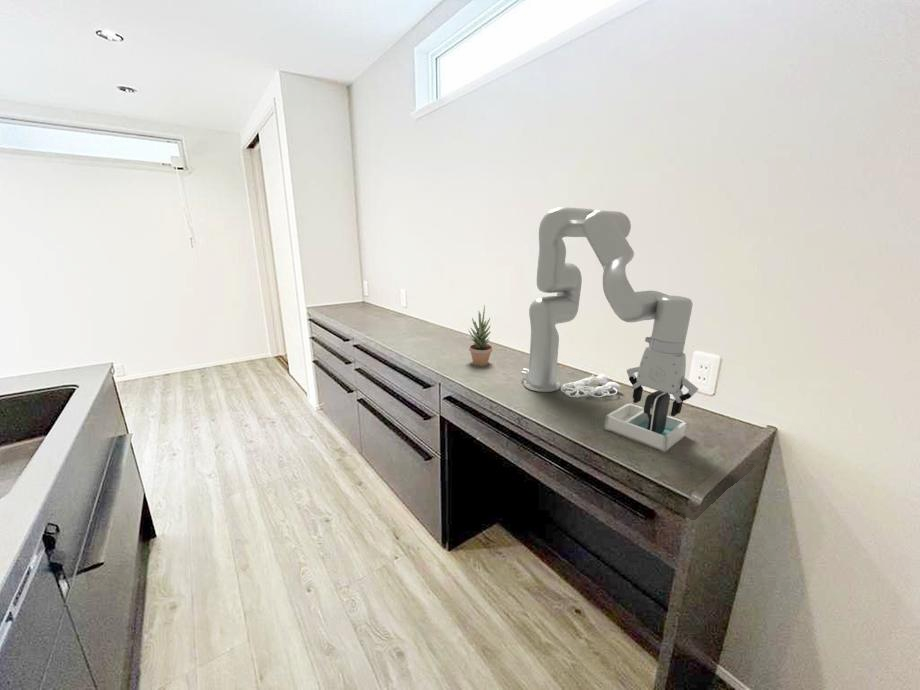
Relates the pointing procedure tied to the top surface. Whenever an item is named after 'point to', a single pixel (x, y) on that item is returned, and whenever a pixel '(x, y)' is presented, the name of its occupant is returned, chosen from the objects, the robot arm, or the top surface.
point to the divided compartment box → (644, 427)
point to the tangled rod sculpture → (598, 390)
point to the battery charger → (657, 410)
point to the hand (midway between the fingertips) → (655, 407)
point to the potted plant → (480, 342)
